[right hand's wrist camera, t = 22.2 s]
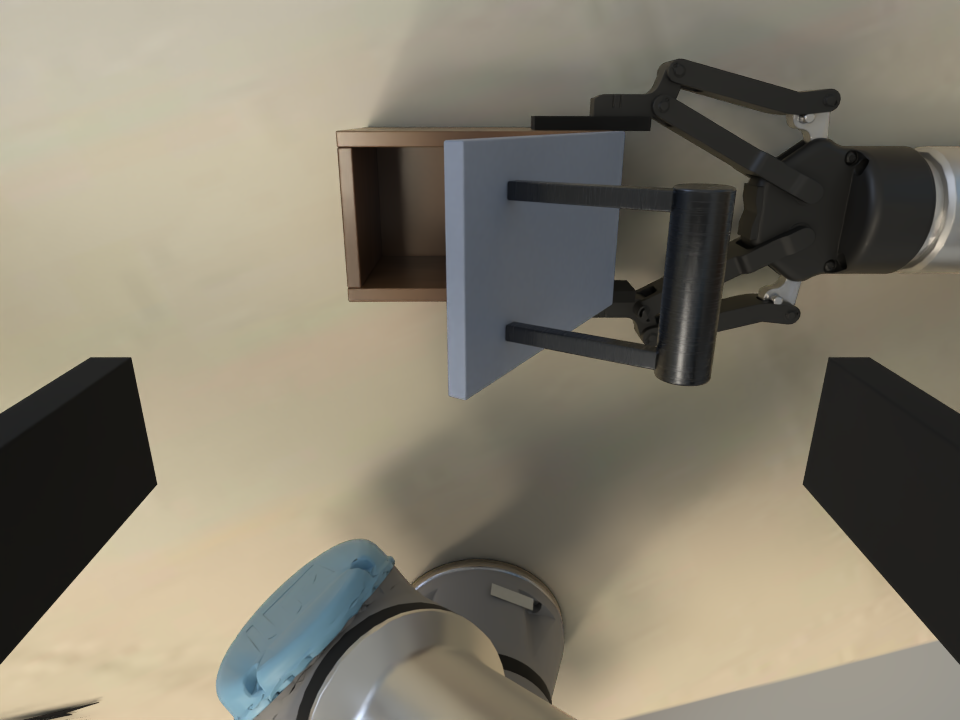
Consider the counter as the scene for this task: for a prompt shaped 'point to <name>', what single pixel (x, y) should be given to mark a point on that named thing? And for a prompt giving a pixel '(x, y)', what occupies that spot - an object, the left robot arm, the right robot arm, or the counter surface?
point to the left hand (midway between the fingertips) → (530, 211)
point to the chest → (400, 208)
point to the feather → (58, 714)
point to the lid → (569, 257)
